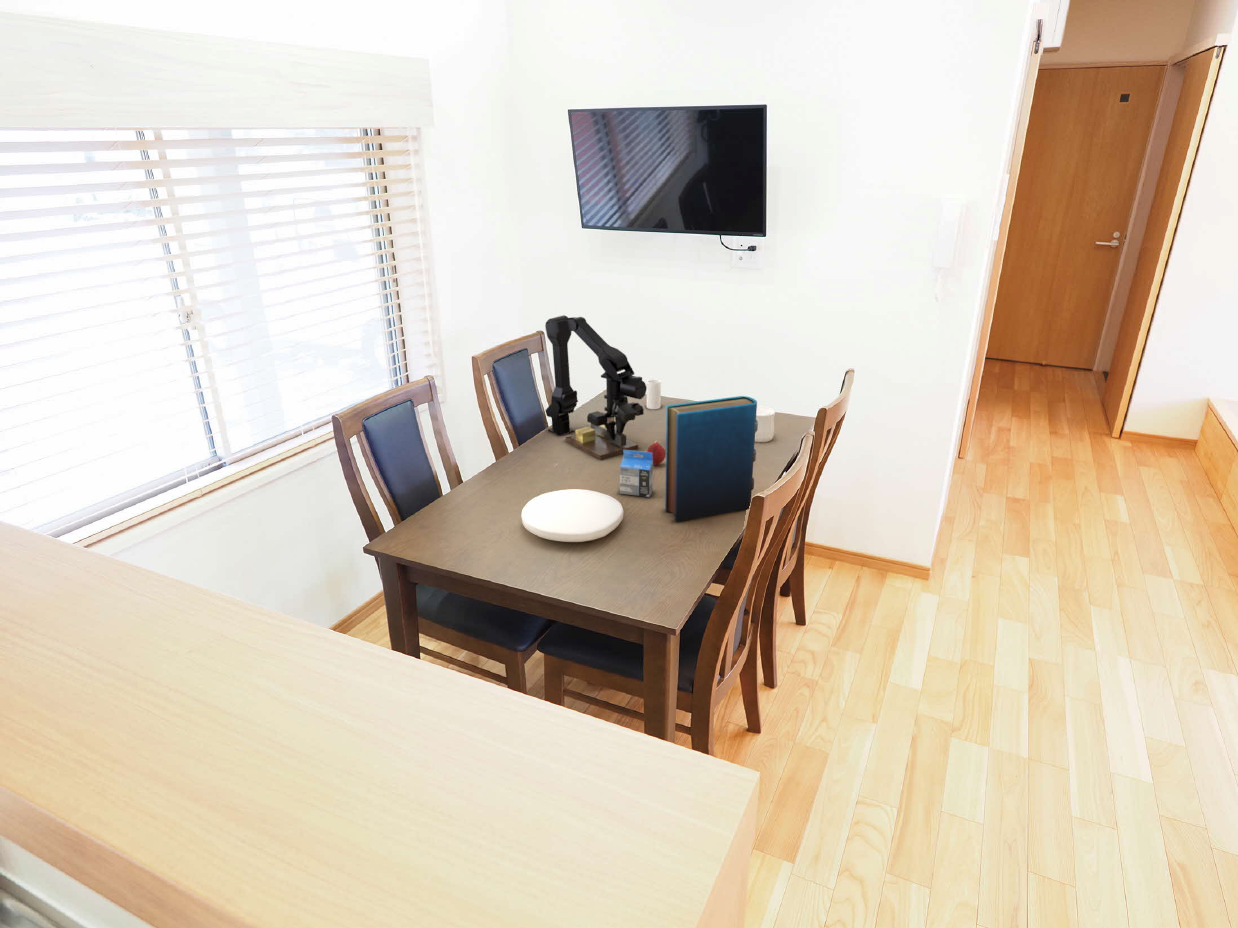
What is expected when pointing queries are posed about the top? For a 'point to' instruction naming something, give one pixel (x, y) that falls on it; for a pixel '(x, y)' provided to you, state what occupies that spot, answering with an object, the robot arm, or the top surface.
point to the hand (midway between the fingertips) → (616, 438)
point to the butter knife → (619, 437)
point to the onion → (657, 453)
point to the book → (710, 457)
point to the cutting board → (597, 444)
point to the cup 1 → (653, 394)
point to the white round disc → (572, 515)
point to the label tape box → (636, 473)
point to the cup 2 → (764, 424)
